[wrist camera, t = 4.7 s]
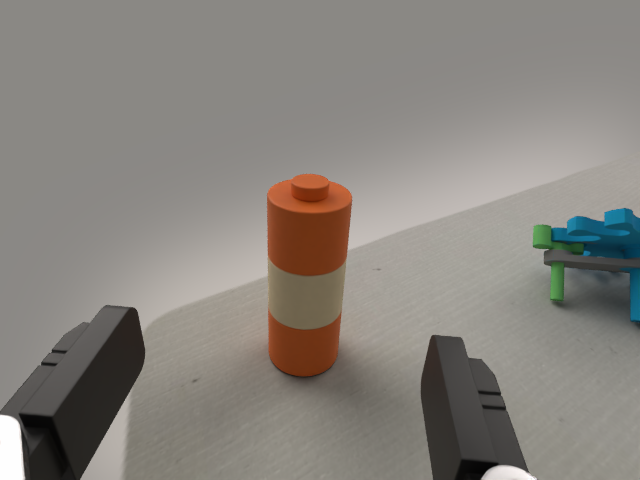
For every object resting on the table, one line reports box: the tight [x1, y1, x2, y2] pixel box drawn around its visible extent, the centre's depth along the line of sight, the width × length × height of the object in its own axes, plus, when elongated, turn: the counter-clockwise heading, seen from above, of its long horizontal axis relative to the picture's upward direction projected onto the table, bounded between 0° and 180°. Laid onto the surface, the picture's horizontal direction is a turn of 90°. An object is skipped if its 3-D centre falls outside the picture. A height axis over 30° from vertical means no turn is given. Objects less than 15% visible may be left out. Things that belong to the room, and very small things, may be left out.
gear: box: [533, 208, 640, 323], centre depth 27 cm, size 11×6×10 cm
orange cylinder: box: [267, 174, 352, 376], centre depth 21 cm, size 4×4×10 cm
